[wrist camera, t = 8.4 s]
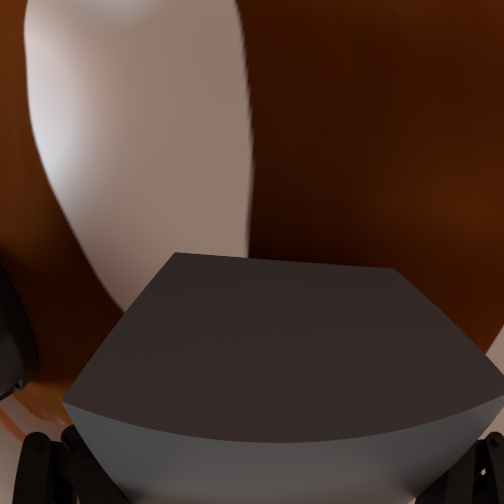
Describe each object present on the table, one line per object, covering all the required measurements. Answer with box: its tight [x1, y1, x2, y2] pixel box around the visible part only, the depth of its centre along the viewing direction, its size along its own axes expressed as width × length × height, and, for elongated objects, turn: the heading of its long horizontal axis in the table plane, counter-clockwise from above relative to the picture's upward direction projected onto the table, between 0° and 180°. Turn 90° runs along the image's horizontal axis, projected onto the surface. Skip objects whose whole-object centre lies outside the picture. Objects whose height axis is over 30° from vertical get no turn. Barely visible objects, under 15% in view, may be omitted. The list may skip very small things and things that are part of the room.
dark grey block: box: [61, 252, 504, 504], centre depth 9 cm, size 10×10×9 cm
